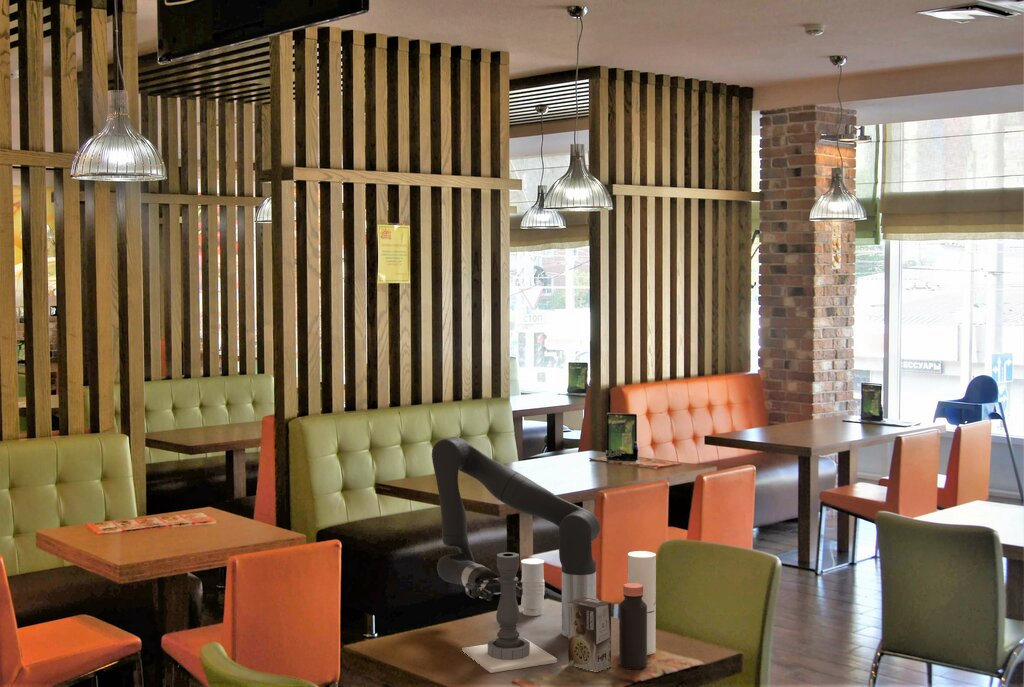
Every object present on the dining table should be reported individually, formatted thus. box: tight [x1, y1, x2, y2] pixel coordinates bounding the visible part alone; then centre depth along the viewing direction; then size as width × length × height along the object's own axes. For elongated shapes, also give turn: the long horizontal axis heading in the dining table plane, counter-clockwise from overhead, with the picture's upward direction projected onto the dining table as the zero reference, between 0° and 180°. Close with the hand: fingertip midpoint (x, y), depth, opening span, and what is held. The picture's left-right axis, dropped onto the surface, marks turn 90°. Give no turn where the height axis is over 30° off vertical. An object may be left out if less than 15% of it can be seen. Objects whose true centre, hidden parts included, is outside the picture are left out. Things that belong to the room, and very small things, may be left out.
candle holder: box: [495, 551, 521, 648], centre depth 286 cm, size 6×6×25 cm
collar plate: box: [461, 637, 558, 674], centre depth 286 cm, size 18×18×4 cm
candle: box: [520, 557, 546, 617], centre depth 325 cm, size 7×7×15 cm
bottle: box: [618, 582, 648, 670], centre depth 279 cm, size 7×7×20 cm
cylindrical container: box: [627, 550, 657, 656], centre depth 291 cm, size 7×7×25 cm
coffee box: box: [567, 597, 612, 672], centre depth 279 cm, size 9×6×16 cm
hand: (505, 594), depth 287 cm, fingers open, 8 cm apart
